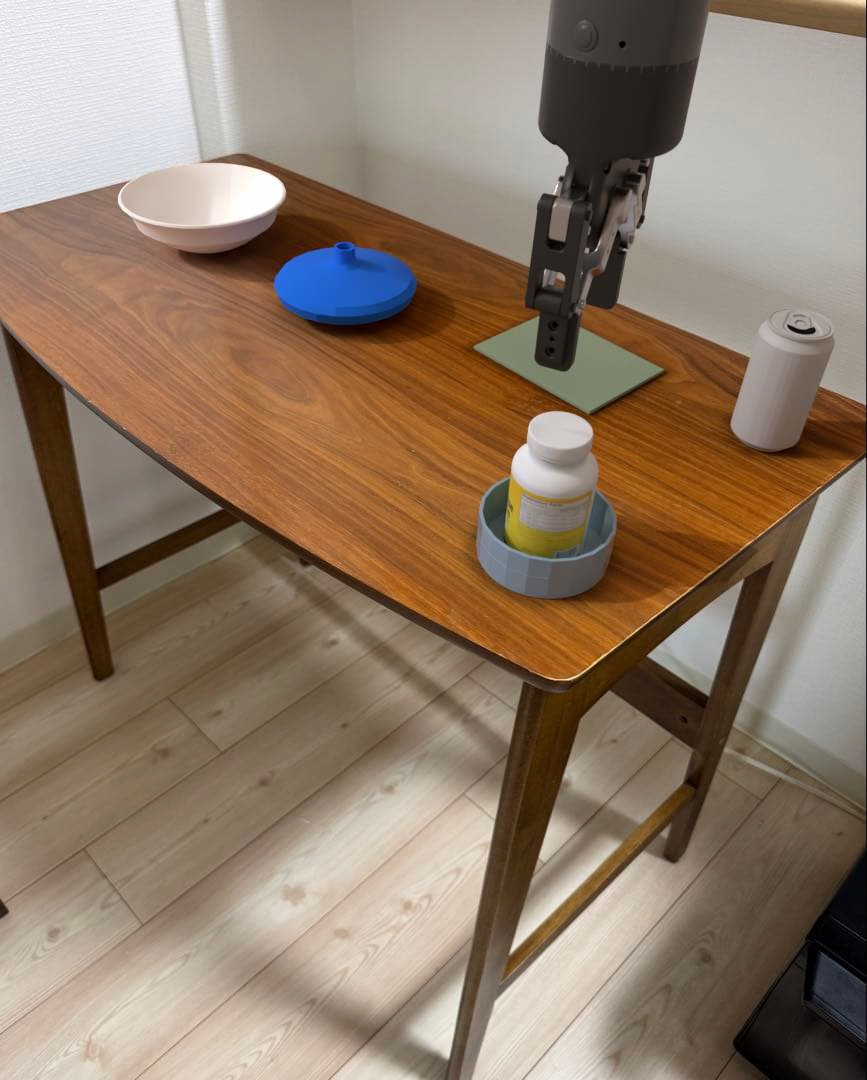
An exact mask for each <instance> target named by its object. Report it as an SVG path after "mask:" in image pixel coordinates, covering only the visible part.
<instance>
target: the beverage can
mask: <svg viewBox="0 0 867 1080" xmlns="http://www.w3.org/2000/svg"><path fill="white" fill-rule="evenodd" d="M835 330H836V327H835V325H834V323H833V322H832V321H831V320H830V319H829V318H827V317H826V316H824V315H823V314H821V313H819V312H816V311H812V310H811V309H810V310H809V309H806V308H799V307H780V308H776V309H773V310H771V311H770V312H769V313H768V314H767V317H766V320H765V321H763V322H762V323H761V325H759V328H758V331H757V334H756V337H755V340H754V344H753V347H752V351H751V353H750V357H749V359H748V363H747V366H746V370H745V374H744V377H743V379H742V383H741V386H740V390H739V393H738V397H737V399H736V402H735V406H734V410H733V412H732V415H731V419H730V429H731V431H732V432H733V434H734V435H735V436H736V437H737V438H738V439H739V440H740V442H742V443H743V444H744V445H746V446H748V447H749V448H751V449H754V450H757V451H760V452H766V453H774V452H780V451H783V450H786V449H790V448H792V447H794V446H795V445H797V443H798V442H799V441H800V439H801V435H802V433H803V431H804V428H805V425H806V422H807V420H808V417H809V414H810V411H811V409H812V406H813V404H814V401H815V398H816V396H817V393H818V391H819V387H820V385H821V382H822V379H823V377H824V374H825V371H826V369H827V366H828V363H829V360H830V358H831V356H832V353H833V350H834V348H835V345H836V344H835V338H834V334H835Z"/></svg>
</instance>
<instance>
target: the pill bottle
mask: <svg viewBox="0 0 867 1080" xmlns="http://www.w3.org/2000/svg"><path fill="white" fill-rule="evenodd" d="M593 441H594V429H593V427H592V425H591V424H590V423H589V422H588V421H587V420H586V419H585V418H583V417H581V416H579V415H577V414H575V413H571V412H569V411H568V412H566V411H561V410H560V411H559V410H558V411H557V410H555V411H554V410H553V411H547V412H543V413H540V414H538V415H535V416H534V417H533V418H532V419H531V420H530V422H529V425H528V427H527V436H526V443H524V444H523V445H521V446H520V447H519V448H518V450H517V451H516V452H515V453H514V456H513V457H512V461H511V466H510V467H511V468H510V475H509V477H510V485H509V494H508V503H507V511H506V520H505V529H504V543H505V544H506V545H508V546H509V547H510V548H512V549H515V550H517V551H520V552H523V553H525V554H528V555H530V556H536V557H543V558H549V559H560V558H574V557H577V556H580V555H582V553H583V550H584V546H585V540H586V535H587V530H588V525H589V521H590V516H591V511H592V506H593V501H594V496H595V491H596V489H597V486H598V480H599V473H600V471H599V463H598V460H597V459H596V457H595V456H594V454H593V453H592V452H591V450H592V448H593Z"/></svg>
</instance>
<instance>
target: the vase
mask: <svg viewBox="0 0 867 1080" xmlns="http://www.w3.org/2000/svg"><path fill="white" fill-rule="evenodd" d="M417 283H418V282H417V277H416V275H414V273H413V271H412V270H411V269H410V268H409V266H408V265H407V264H406V263H405V262H403V261H402V260H401V259H399V258H398V257H396V256H394V255H391V254H389V253H387V252H384V251H380V250H378V249H377V250H376V249H372V248H365V247H357V246H356V245H355V244H354V243H352V242H348V241H342V242H337V243H336V244H334V247H325V248H320V249H315V250H310V251H306V252H304V253H302V254H300V255H297V256H295V257H293V258H292V259H290V260H289V261H287V262H286V263H285V264H284V265H283V267H282V268H281V269H280V270H279V272H278V273H277V274H276V275H275V277H274V282H273V284H274V285H273V288H274V289H275V292H276V294H277V296H278V299H279V301H280V303H281V305H283V306H284V308H286V310H288V311H289V312H291V313H293V314H294V315H295V316H296V315H297V316H298V317H300V318H303V319H306V320H310V321H314V322H317V323H321V324H327V325H328V324H329V325H334V326H335V325H337V326H355V325H364V324H369V323H374V322H378V321H381V320H385V319H388V318H390V317H392V316H394V315H396V314H399V313H400V312H402V311H403V310H404V309H406V308H407V307H408V306H409V305H410V304H411V301H412V299H413V298H414V295H415V293H416V290H417V286H418V284H417Z"/></svg>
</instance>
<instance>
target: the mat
mask: <svg viewBox="0 0 867 1080" xmlns="http://www.w3.org/2000/svg"><path fill="white" fill-rule="evenodd" d="M539 316H540V315H538V316H536V317H534V318H531V319H530V320H529V319H528V320H527V321H525V322H523V323H521V324H518V325H516V326H514V327H512V328H509V329H507V330H505V331H503V332H501V333H499V334H497V335H494V336H492V337H490V338H487V339H485V340H483V341H481V342H478V343H477V344H475V345H473V350H475V351H477V352H478V353H480V354H482V355H483V356H485V357H487V358H489V359H490V360H491V361H494V362H496V363H497V364H499V365H500V366H503V367H504V368H506V369H508V370H510V371H511V372H513V373H514V374H517V375H519V376H520V377H522V378H524V379H525V380H527V381H529V382H531V383H532V384H535V386H538V387H540V388H541V389H543V390H545V391H547V392H548V393H550V394H552V395H553V396H556V397H557V398H559V399H561V400H562V401H564V402H566V403H568V404H569V405H571V406H573V407H575V408H577V409H578V410H580V411H582V412H584V413H586V414H587V415H592V414H593V413H595V412H597V411H599V410H600V409H602V408H604V407H605V406H607V405H609V404H611V403H612V402H615V401H616V400H618V399H619V398H621V397H623V396H625V395H626V394H627V395H628V393H630V392H632V391H634V390H635V389H637V388H639V387H641V386H642V385H644V384H646V383H648V382H649V381H652V380H653V379H655V378H657V377H658V376H661V375H662V374H663V373H665V368H662V367H661V366H658V365H656V364H654V363H653V362H650V361H649V360H647V359H645V358H642V357H641V356H639V355H637V354H635V353H632V352H631V351H629V350H626V349H625V348H623V347H621V346H619V345H616V344H614V342H611V341H609V340H607V339H605V338H603V337H601V336H599V335H597V334H595V333H593V332H591V331H589V330H587V329H585V328H583V327H581V326H580V330H579V336H578V342H577V348H576V355H575V361H574V363H573V365H572V366H571V367H570V369H569V370H568V371H566V372H562V371H558V370H554V369H551V368H547V367H543V366H540V365H538V364H537V363H536V361H535V358H534V356H535V348H536V340H537V332H538V324H539Z"/></svg>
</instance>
